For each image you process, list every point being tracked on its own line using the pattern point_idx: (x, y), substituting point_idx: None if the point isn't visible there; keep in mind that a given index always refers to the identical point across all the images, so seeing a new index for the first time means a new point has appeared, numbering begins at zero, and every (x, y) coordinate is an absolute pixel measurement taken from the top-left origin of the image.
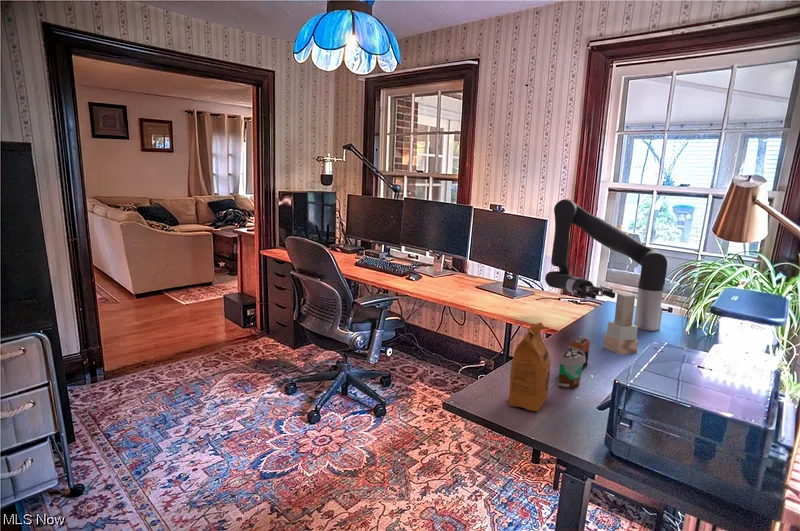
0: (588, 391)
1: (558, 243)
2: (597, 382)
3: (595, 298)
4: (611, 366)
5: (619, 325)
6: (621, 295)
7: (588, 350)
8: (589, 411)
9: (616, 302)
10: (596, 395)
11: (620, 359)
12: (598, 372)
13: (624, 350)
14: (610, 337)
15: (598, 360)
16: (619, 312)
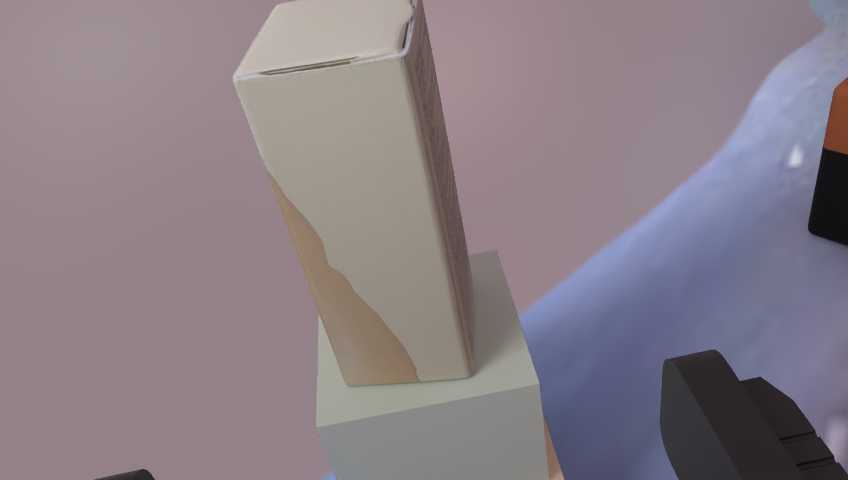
0: (830, 76)
1: None
2: (779, 122)
3: (669, 430)
4: (656, 243)
5: (481, 287)
6: (419, 9)
7: (825, 142)
8: (839, 13)
9: (435, 175)
10: (801, 64)
11: (554, 326)
12: (753, 185)
13: None
14: (544, 418)
15: (714, 300)
16: (456, 208)
